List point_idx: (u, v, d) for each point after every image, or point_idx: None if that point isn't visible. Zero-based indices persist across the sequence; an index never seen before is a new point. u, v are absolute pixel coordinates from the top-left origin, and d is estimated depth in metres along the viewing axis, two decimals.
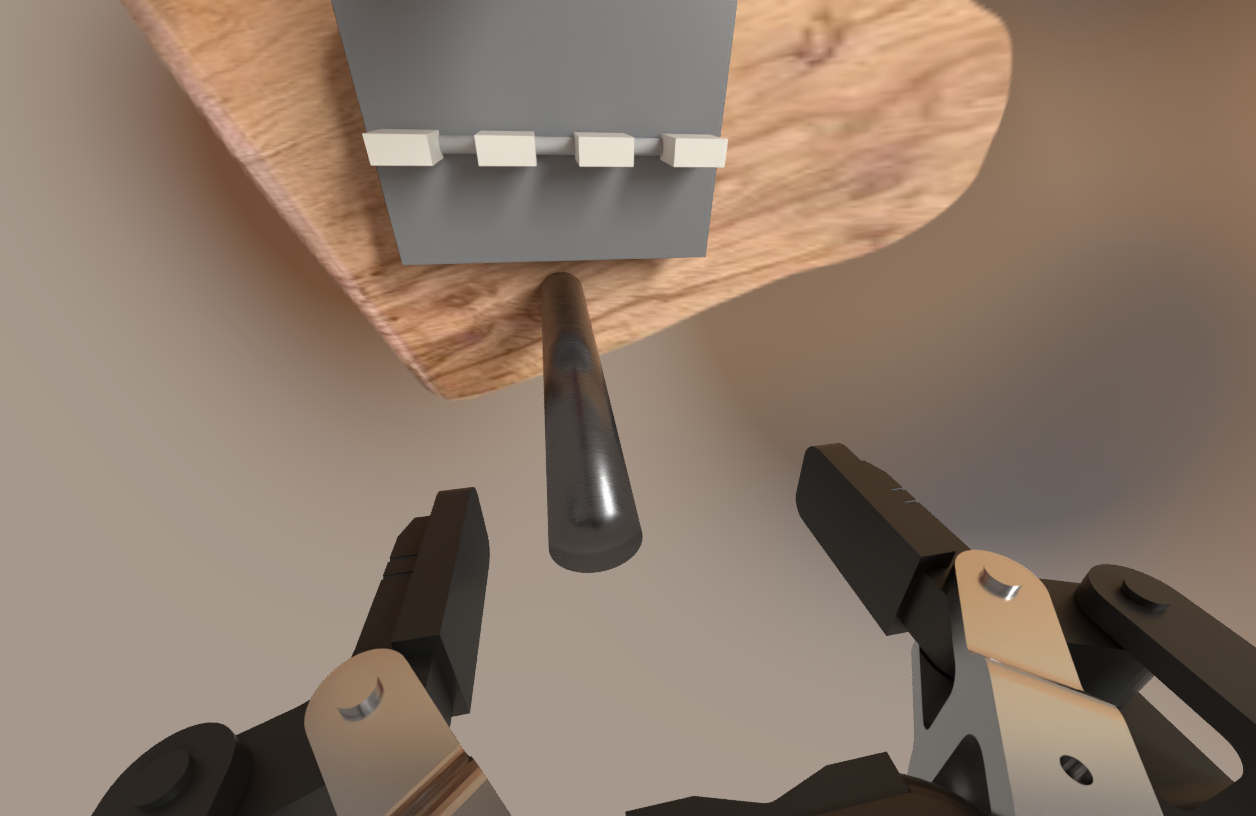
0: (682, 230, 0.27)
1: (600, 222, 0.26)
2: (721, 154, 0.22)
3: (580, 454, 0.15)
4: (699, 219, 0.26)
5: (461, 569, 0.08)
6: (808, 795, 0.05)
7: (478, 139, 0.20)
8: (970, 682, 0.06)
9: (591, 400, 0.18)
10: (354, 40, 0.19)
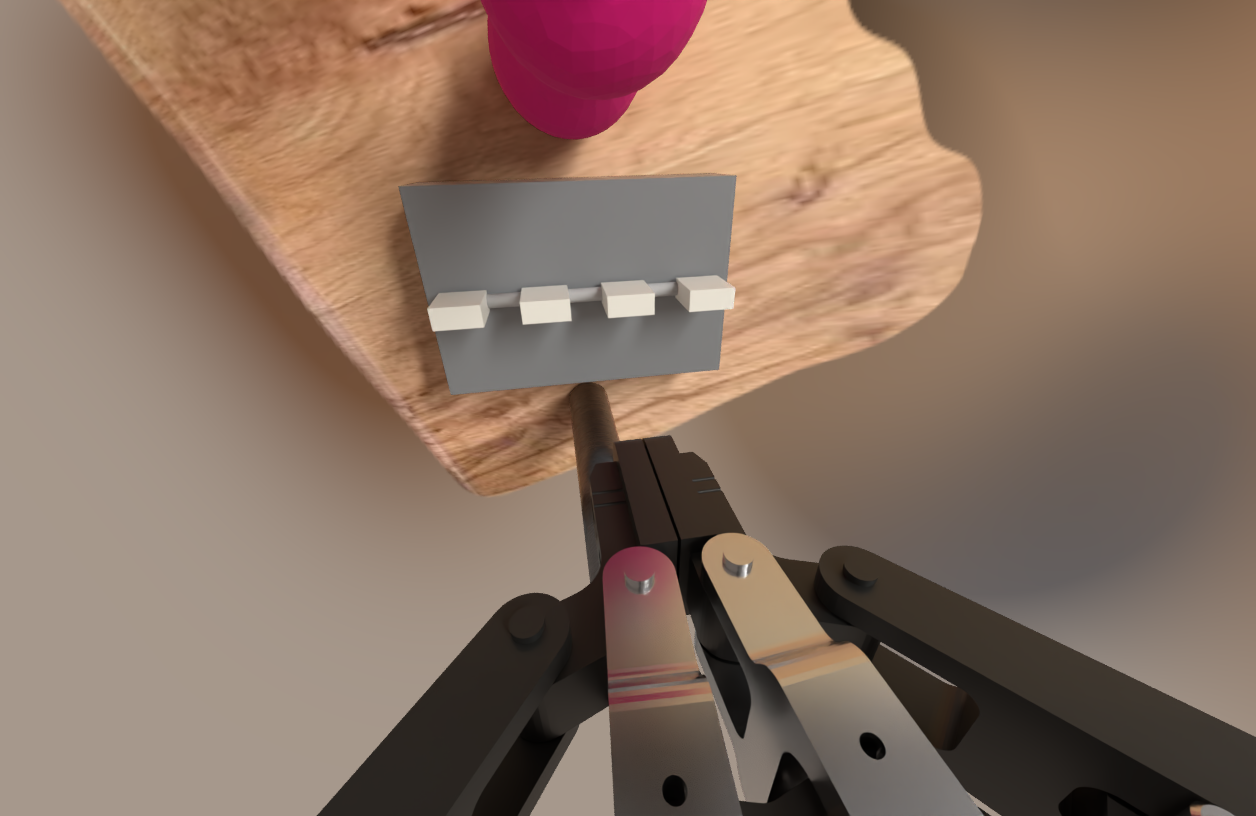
0: (697, 350, 0.30)
1: (624, 349, 0.29)
2: (730, 299, 0.25)
3: None
4: (712, 340, 0.30)
5: None
6: (808, 796, 0.05)
7: (523, 305, 0.23)
8: (766, 694, 0.06)
9: None
10: (419, 230, 0.23)
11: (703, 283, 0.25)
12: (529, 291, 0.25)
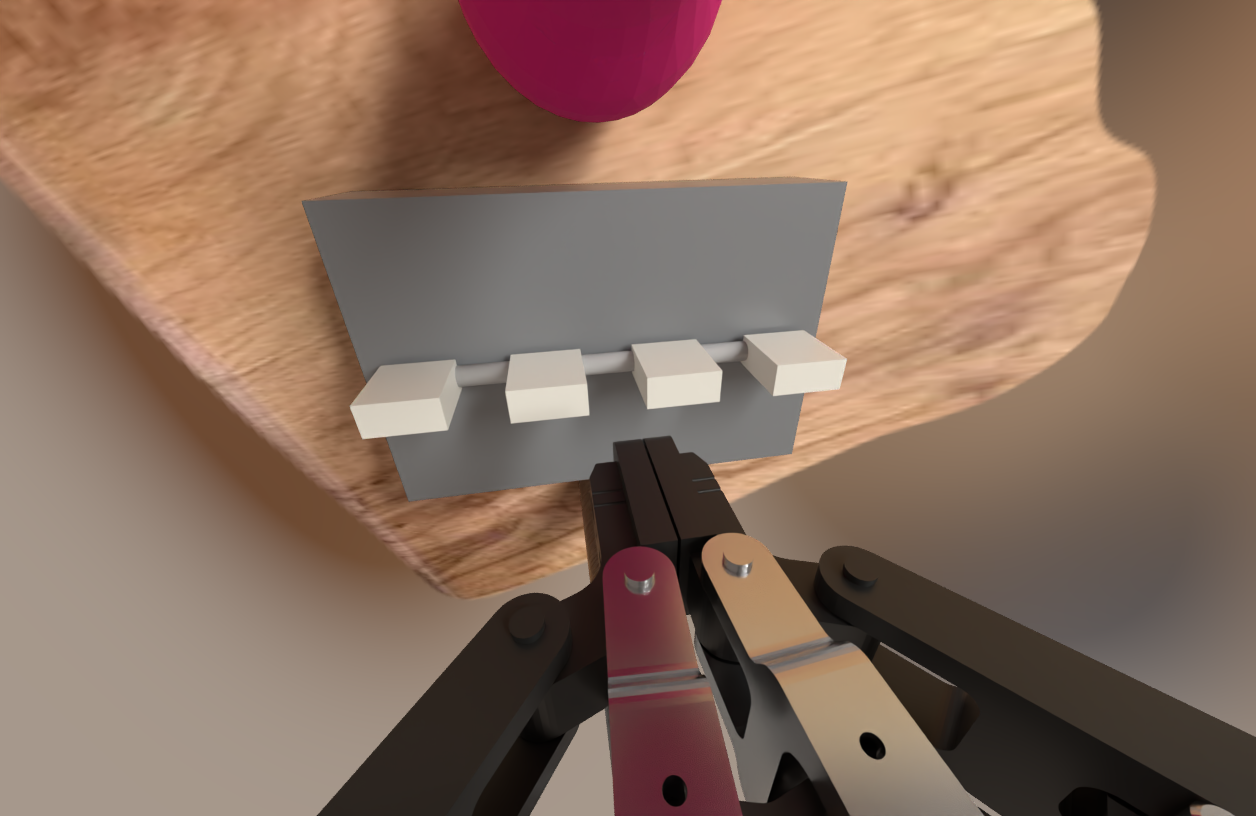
0: (765, 430, 0.21)
1: (661, 432, 0.20)
2: (836, 375, 0.16)
3: None
4: (786, 416, 0.21)
5: None
6: (809, 796, 0.05)
7: (511, 395, 0.14)
8: (766, 695, 0.06)
9: None
10: (344, 271, 0.14)
11: (791, 348, 0.16)
12: (522, 363, 0.16)
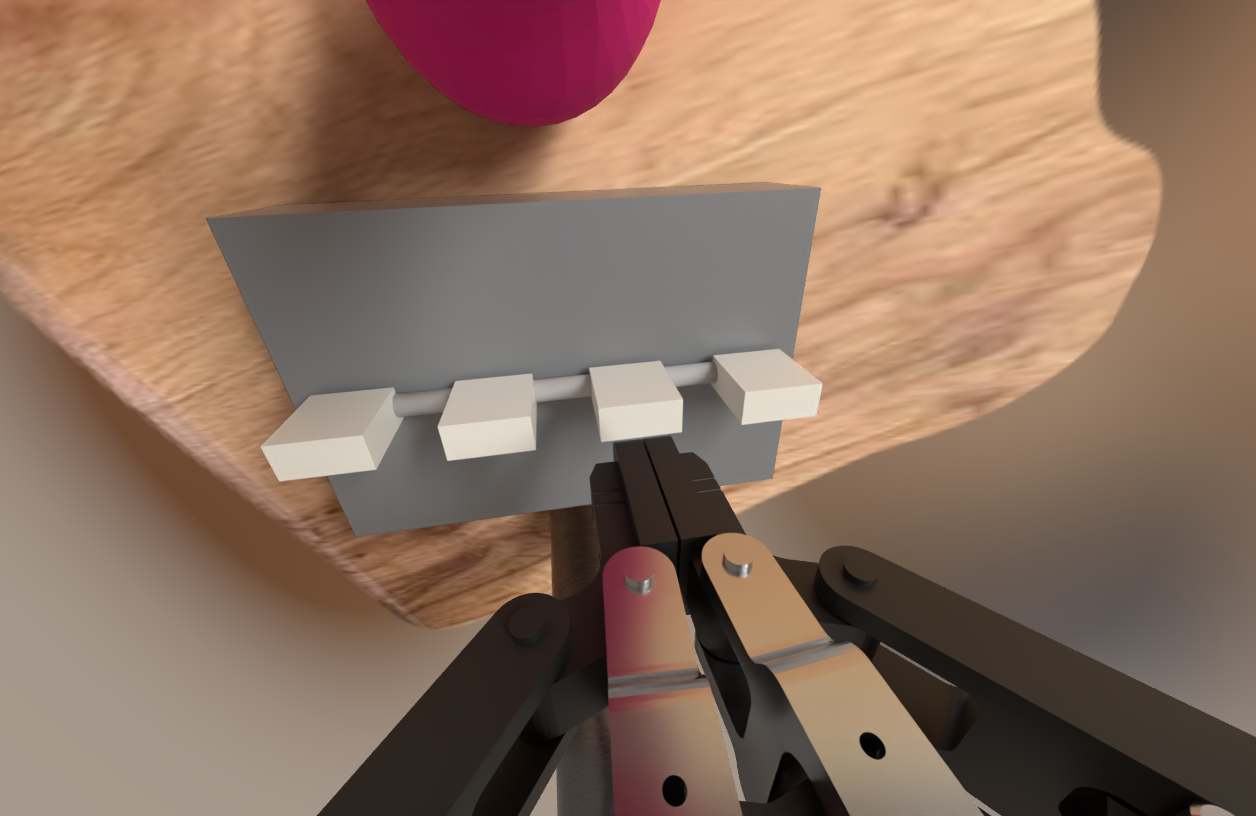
0: (742, 454, 0.19)
1: None
2: (812, 401, 0.14)
3: None
4: (764, 439, 0.19)
5: None
6: (808, 795, 0.05)
7: (444, 430, 0.13)
8: (767, 695, 0.06)
9: None
10: (261, 294, 0.13)
11: (763, 371, 0.15)
12: (465, 392, 0.14)
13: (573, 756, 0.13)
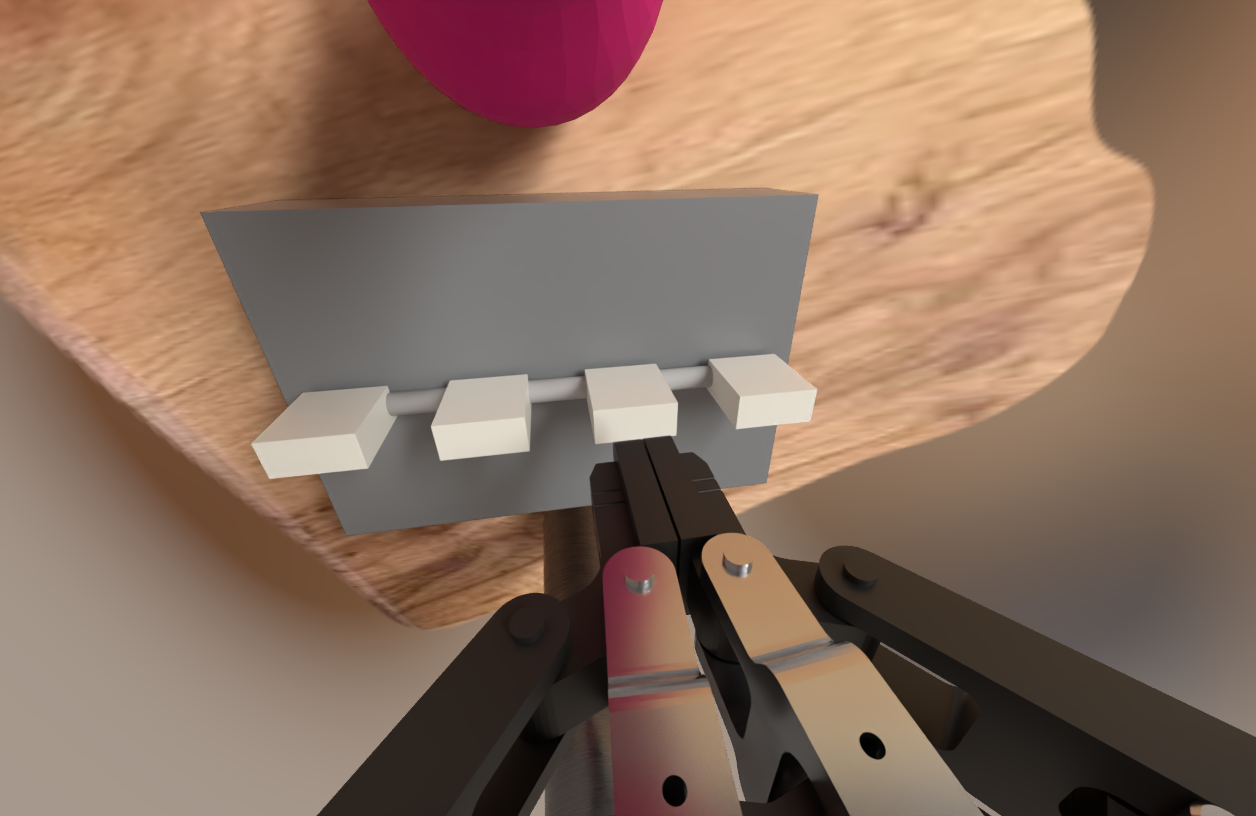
0: (736, 458, 0.19)
1: None
2: (806, 407, 0.14)
3: None
4: (759, 444, 0.19)
5: None
6: (808, 795, 0.05)
7: (438, 430, 0.13)
8: (766, 695, 0.06)
9: None
10: (255, 290, 0.13)
11: (758, 375, 0.15)
12: (459, 391, 0.14)
13: (562, 760, 0.13)
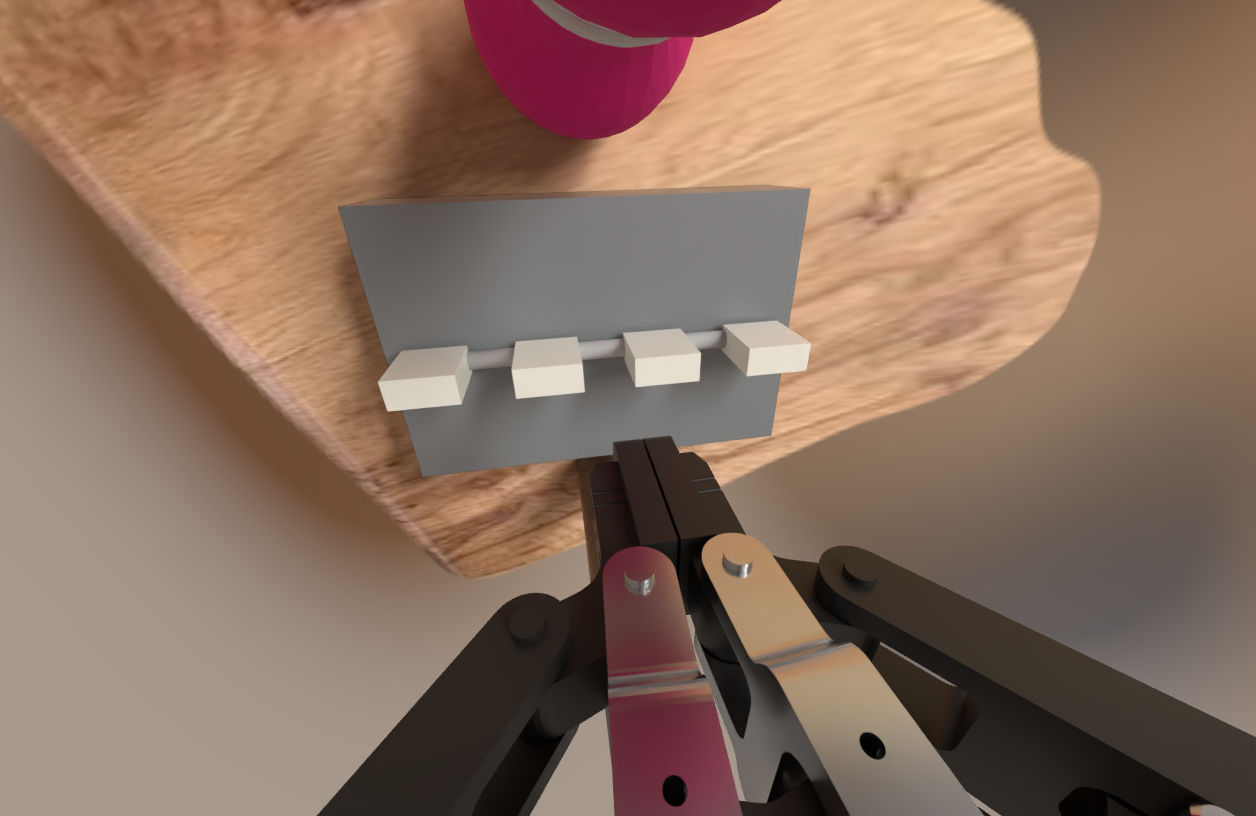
0: (745, 413, 0.23)
1: (651, 414, 0.22)
2: (802, 358, 0.18)
3: None
4: (764, 400, 0.23)
5: None
6: (809, 795, 0.05)
7: (516, 373, 0.16)
8: (766, 695, 0.06)
9: None
10: (371, 267, 0.17)
11: (763, 335, 0.19)
12: (526, 348, 0.18)
13: None
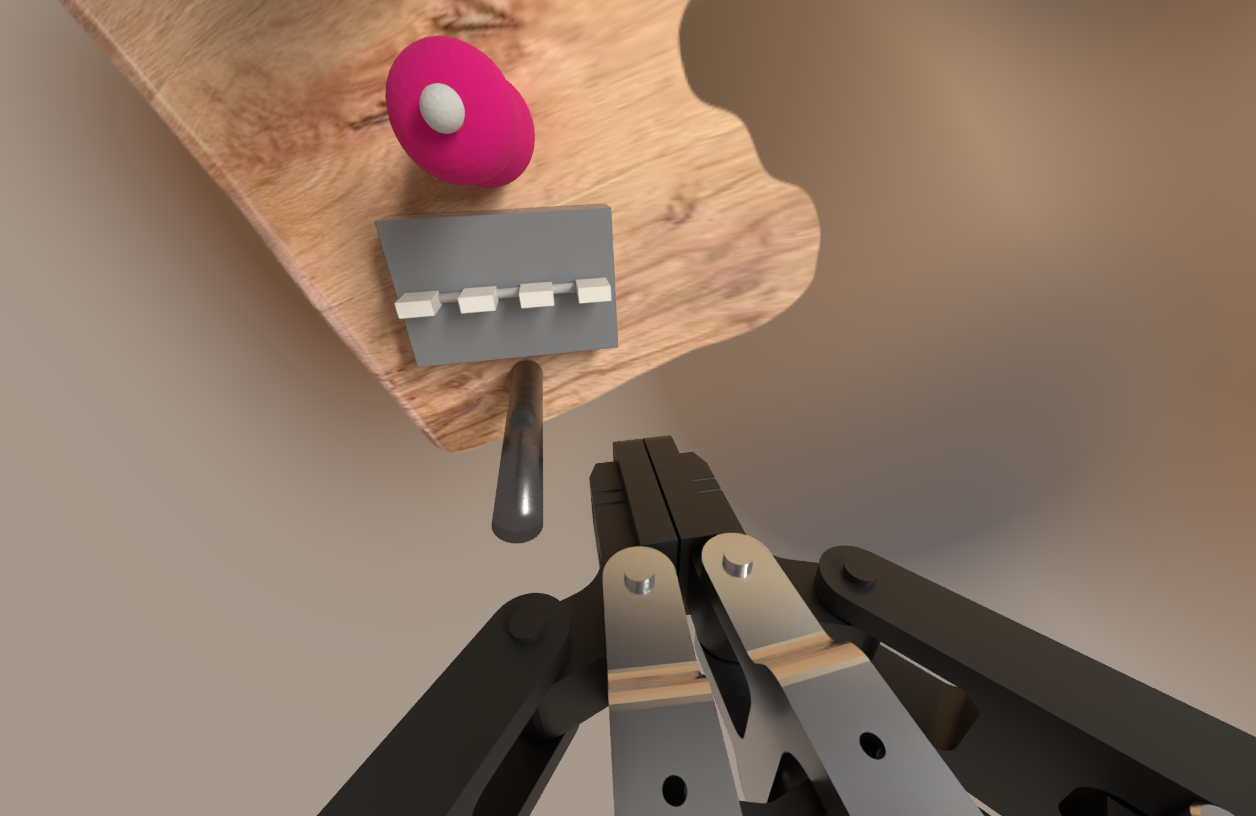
0: (599, 332, 0.40)
1: (543, 332, 0.39)
2: (608, 293, 0.35)
3: (512, 478, 0.28)
4: (609, 325, 0.40)
5: None
6: (809, 795, 0.05)
7: (460, 300, 0.34)
8: (767, 695, 0.06)
9: (525, 448, 0.31)
10: (390, 250, 0.34)
11: (591, 283, 0.36)
12: (467, 290, 0.35)
13: (509, 425, 0.34)
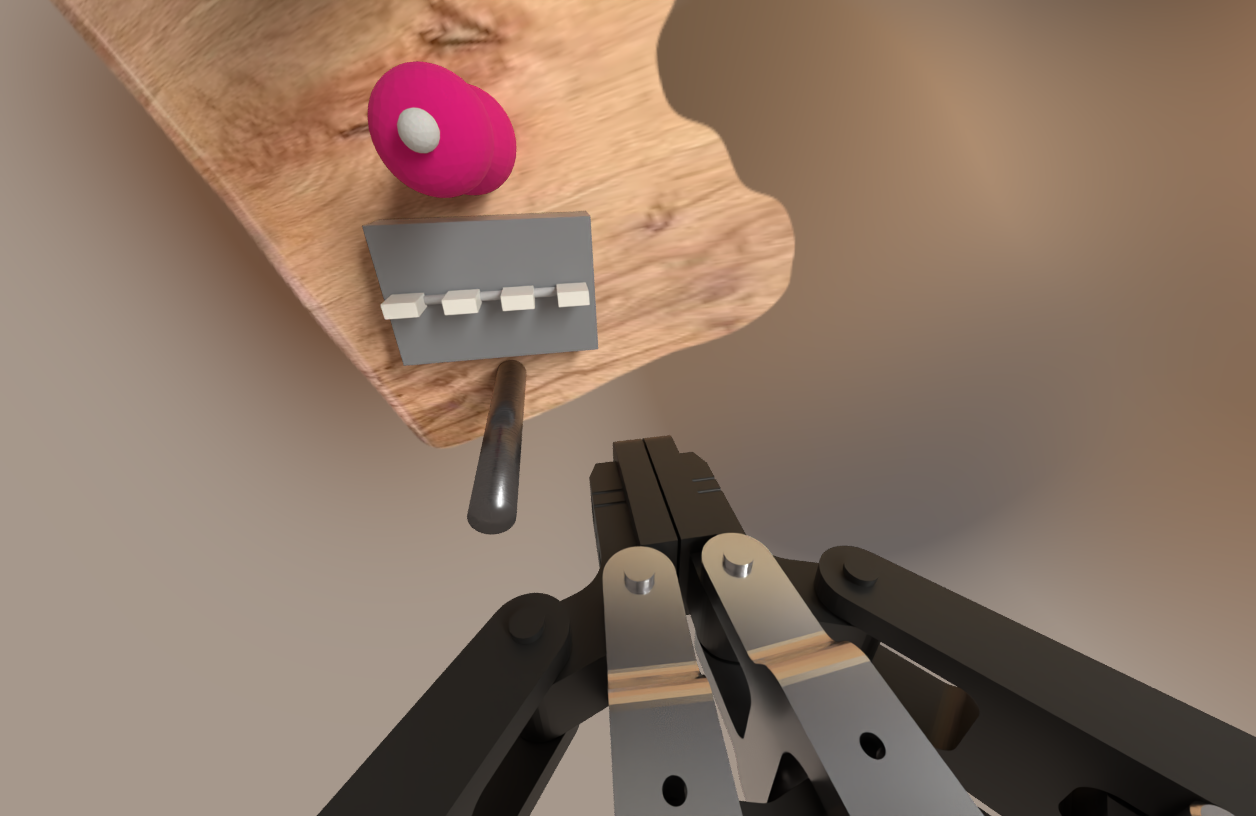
0: (580, 334, 0.42)
1: (526, 333, 0.41)
2: (586, 298, 0.37)
3: (488, 473, 0.30)
4: (589, 327, 0.42)
5: None
6: (808, 796, 0.05)
7: (443, 302, 0.35)
8: (767, 695, 0.06)
9: (503, 444, 0.33)
10: (377, 253, 0.36)
11: (570, 287, 0.38)
12: (451, 293, 0.37)
13: (489, 423, 0.36)
